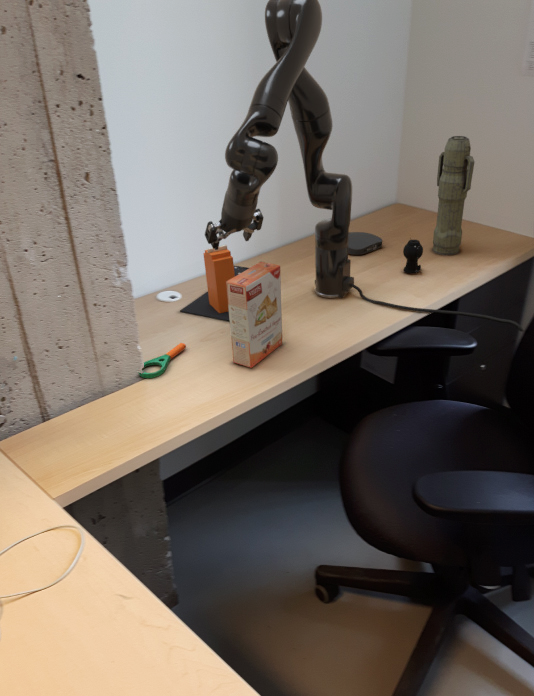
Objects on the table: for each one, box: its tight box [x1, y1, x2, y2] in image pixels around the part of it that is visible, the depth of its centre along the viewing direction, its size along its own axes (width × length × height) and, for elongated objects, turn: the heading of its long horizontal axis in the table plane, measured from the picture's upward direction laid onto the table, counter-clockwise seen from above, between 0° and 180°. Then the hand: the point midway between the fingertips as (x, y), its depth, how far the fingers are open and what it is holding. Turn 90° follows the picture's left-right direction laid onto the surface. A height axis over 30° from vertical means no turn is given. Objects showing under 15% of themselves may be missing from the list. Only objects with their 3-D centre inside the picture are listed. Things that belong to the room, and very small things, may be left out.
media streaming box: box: [348, 231, 383, 256], centre depth 203 cm, size 15×15×3 cm
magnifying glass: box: [138, 342, 187, 379], centre depth 142 cm, size 15×6×2 cm, turn 150°
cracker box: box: [226, 261, 283, 369], centre depth 139 cm, size 14×6×21 cm, turn 148°
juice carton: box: [202, 244, 235, 313], centre depth 162 cm, size 17×6×8 cm
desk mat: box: [179, 291, 230, 323], centre depth 167 cm, size 20×14×1 cm
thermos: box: [432, 135, 475, 256], centre depth 187 cm, size 9×12×35 cm
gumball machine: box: [402, 237, 424, 275], centre depth 180 cm, size 7×6×10 cm
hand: (230, 242), depth 151 cm, fingers open, 8 cm apart
